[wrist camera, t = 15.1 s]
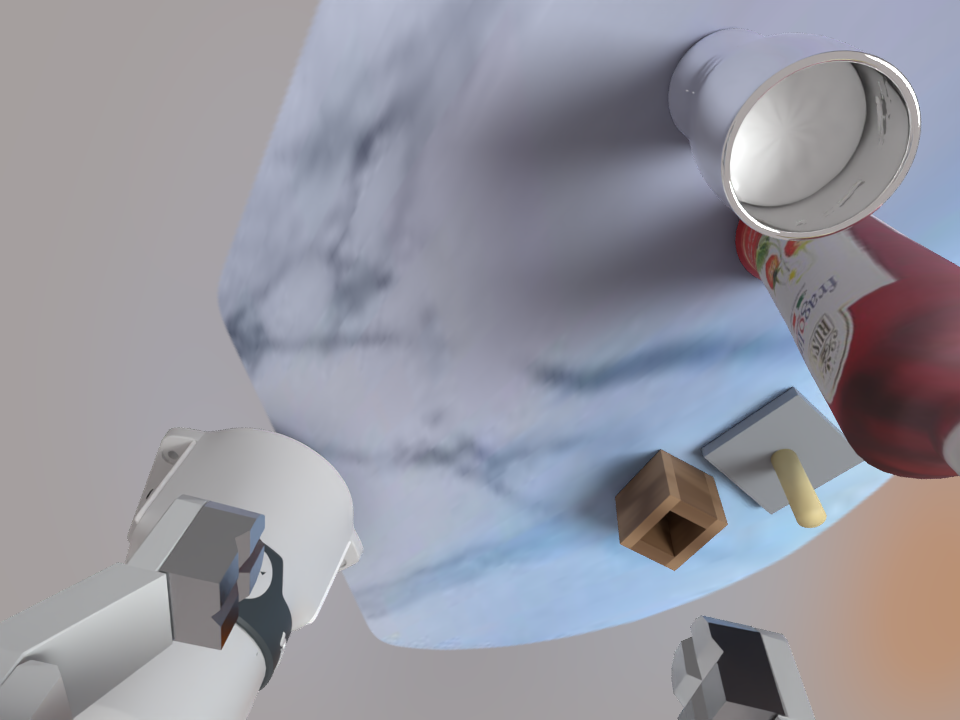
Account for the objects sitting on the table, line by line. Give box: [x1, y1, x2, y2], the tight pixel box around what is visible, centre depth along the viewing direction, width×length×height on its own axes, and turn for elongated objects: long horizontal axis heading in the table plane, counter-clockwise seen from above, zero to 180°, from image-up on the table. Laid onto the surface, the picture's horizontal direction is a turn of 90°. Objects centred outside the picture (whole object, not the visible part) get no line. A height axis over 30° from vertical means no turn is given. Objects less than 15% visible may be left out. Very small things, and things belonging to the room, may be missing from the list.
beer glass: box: [668, 28, 921, 241], centre depth 28 cm, size 7×7×15 cm
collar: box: [615, 449, 728, 571], centre depth 48 cm, size 6×5×5 cm
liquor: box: [735, 214, 960, 479], centre depth 26 cm, size 7×7×28 cm
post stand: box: [702, 387, 864, 528], centre depth 44 cm, size 8×8×7 cm
